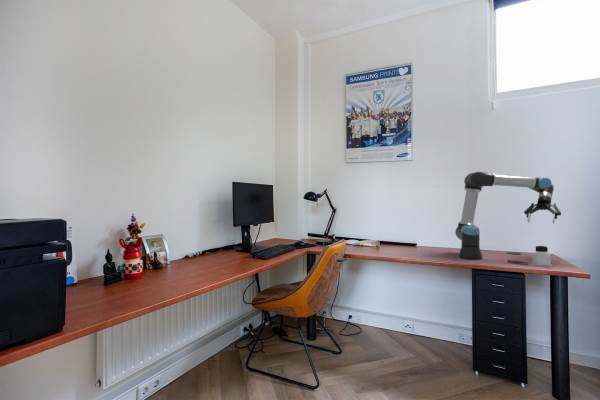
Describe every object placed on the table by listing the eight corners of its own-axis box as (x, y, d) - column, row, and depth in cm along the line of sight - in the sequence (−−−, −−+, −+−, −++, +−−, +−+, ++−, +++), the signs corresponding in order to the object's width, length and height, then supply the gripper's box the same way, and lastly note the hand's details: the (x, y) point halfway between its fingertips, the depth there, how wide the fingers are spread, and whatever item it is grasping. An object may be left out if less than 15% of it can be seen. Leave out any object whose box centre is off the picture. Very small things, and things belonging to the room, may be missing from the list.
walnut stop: (507, 262, 204) (507, 259, 203) (507, 262, 204) (507, 259, 204) (527, 265, 195) (527, 262, 195) (527, 265, 196) (527, 261, 196)
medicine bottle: (551, 265, 190) (551, 247, 190) (538, 265, 192) (538, 246, 192) (544, 263, 197) (544, 245, 197) (532, 263, 199) (532, 245, 199)
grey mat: (530, 265, 195) (530, 264, 195) (534, 263, 201) (533, 262, 201) (550, 267, 187) (550, 267, 187) (553, 265, 194) (553, 264, 194)
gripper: (568, 203, 209) (565, 226, 199) (524, 203, 227) (519, 224, 217) (567, 195, 205) (563, 218, 195) (522, 196, 224) (517, 217, 214)
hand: (540, 221), depth 206 cm, fingers open, 13 cm apart
